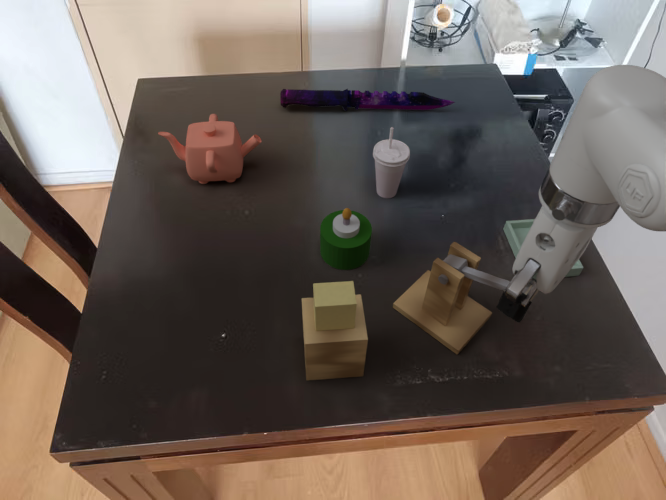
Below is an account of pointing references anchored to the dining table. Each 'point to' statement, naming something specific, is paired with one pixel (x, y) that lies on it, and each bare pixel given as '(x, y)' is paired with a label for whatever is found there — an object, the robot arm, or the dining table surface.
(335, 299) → the butter
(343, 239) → the candle
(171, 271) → the dining table surface
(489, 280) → the lever
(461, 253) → the slicer
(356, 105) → the knife
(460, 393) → the dining table surface
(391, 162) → the smoothie
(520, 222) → the butter dish
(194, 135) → the teapot
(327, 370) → the stand
